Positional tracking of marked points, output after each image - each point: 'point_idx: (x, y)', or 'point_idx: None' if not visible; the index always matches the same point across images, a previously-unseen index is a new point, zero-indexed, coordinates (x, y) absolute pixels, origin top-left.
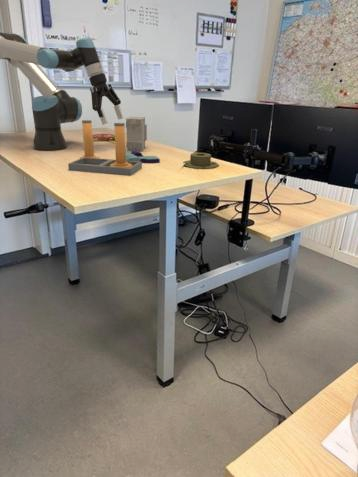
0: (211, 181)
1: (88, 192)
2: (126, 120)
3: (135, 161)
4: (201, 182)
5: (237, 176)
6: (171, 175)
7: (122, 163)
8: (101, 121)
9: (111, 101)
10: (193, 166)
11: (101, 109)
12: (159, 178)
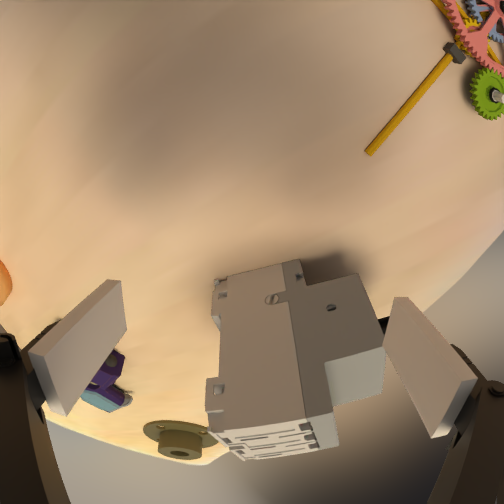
0: (102, 441)
1: None
2: (224, 416)
3: None
4: (87, 435)
5: (151, 455)
6: (78, 414)
7: None
8: (91, 294)
9: (465, 449)
10: (150, 433)
11: (50, 406)
12: None
